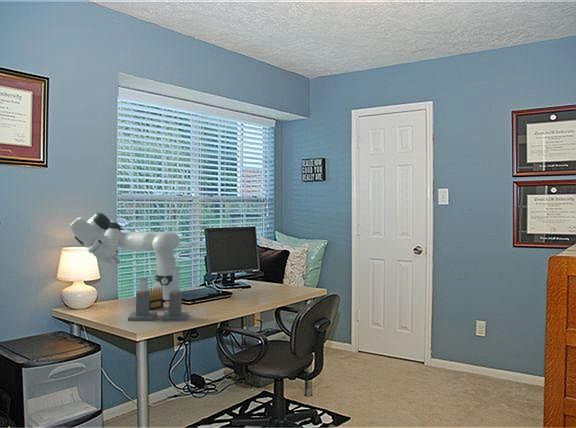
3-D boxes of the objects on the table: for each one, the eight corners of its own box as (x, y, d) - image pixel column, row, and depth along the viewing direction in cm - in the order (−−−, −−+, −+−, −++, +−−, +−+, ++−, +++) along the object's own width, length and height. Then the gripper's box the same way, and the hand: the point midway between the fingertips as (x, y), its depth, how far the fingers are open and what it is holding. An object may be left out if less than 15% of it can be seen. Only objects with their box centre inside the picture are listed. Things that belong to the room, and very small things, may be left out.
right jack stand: (164, 314, 259) (165, 264, 258) (188, 314, 261) (189, 265, 260) (161, 320, 247) (162, 268, 246) (186, 320, 249) (187, 268, 248)
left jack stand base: (132, 314, 257) (133, 289, 257) (156, 314, 259) (157, 289, 258) (127, 320, 246) (128, 293, 245) (152, 320, 247) (153, 294, 246)
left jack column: (140, 311, 253) (140, 277, 253) (146, 311, 254) (147, 277, 253) (139, 312, 250) (139, 278, 250) (145, 312, 251) (145, 278, 250)
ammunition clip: (148, 310, 267) (148, 288, 267) (145, 310, 268) (146, 287, 268) (163, 307, 276) (164, 285, 276) (161, 306, 277) (161, 285, 277)
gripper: (98, 246, 258) (117, 265, 260) (86, 251, 238) (107, 272, 240) (107, 238, 259) (126, 257, 260) (96, 242, 238) (117, 262, 240)
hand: (117, 264), depth 250 cm, fingers open, 8 cm apart
